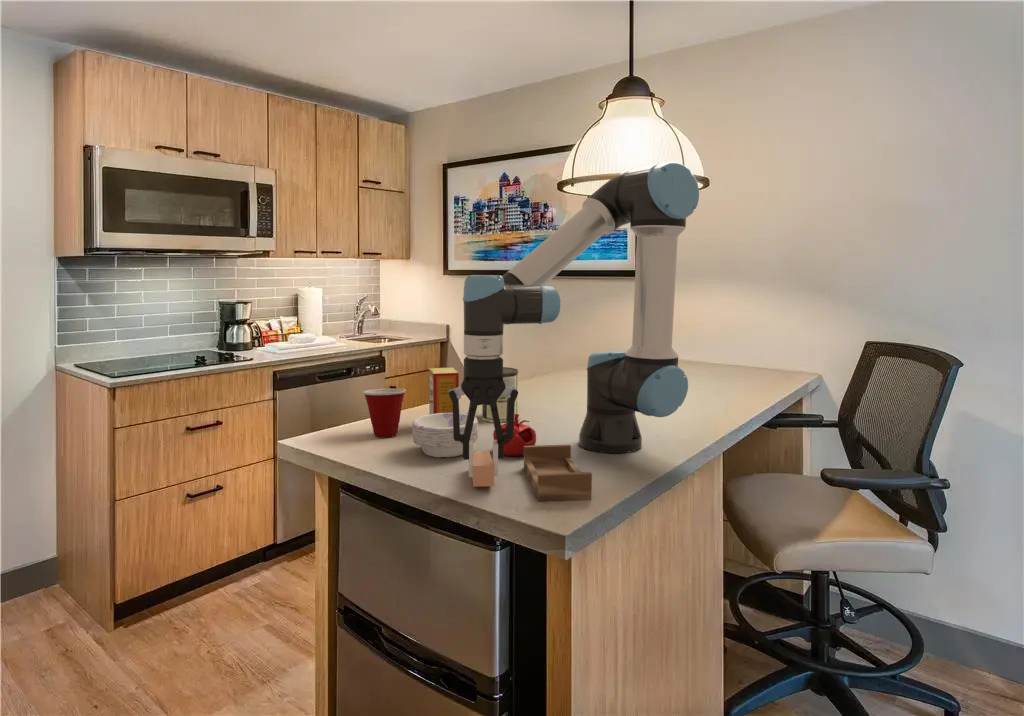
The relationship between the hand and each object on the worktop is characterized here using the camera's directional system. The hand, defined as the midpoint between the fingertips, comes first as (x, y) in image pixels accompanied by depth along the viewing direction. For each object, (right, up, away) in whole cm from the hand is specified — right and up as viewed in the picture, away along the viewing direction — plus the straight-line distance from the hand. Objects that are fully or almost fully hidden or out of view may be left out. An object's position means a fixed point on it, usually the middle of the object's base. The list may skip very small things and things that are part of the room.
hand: (483, 474), depth 127 cm
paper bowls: (-10, +1, +25) cm, 27 cm away
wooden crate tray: (+14, -2, +4) cm, 15 cm away
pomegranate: (+6, 0, +25) cm, 26 cm away
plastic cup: (-27, +3, +40) cm, 48 cm away
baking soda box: (-13, +4, +47) cm, 49 cm away
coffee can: (+2, +5, +58) cm, 58 cm away
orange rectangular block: (-1, -1, +5) cm, 5 cm away
